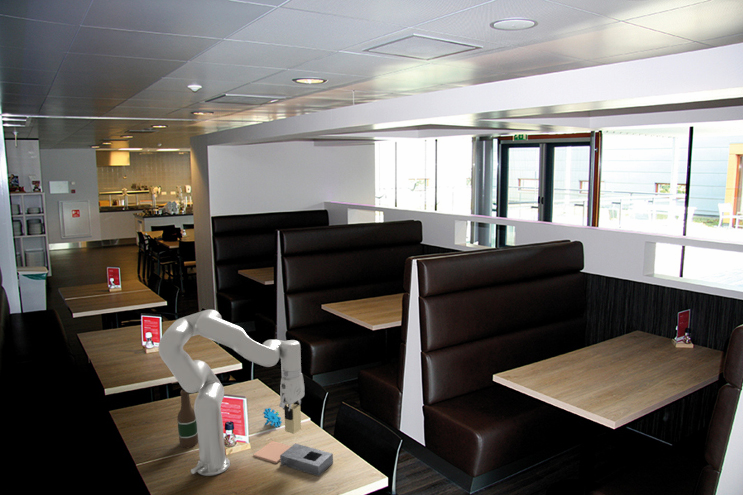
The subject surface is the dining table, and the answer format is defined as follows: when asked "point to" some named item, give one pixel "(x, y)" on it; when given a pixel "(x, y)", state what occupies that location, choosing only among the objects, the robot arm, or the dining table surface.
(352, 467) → the dining table surface
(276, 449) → the terracotta tile
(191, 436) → the beer bottle
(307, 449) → the grey block with hole
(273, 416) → the gear
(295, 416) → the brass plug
